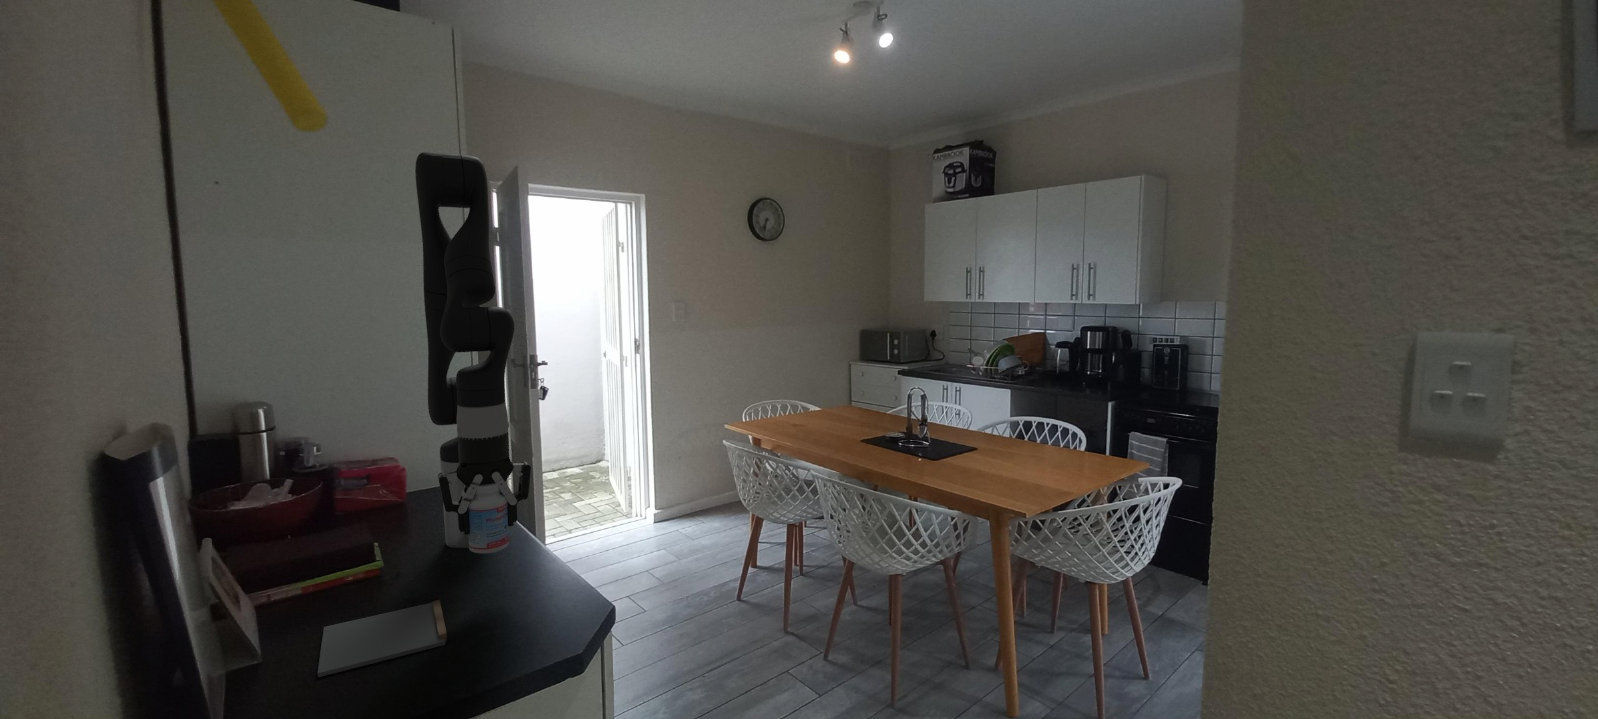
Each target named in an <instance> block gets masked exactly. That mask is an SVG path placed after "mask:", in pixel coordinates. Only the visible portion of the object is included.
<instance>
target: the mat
mask: <svg viewBox="0 0 1598 719" xmlns="http://www.w3.org/2000/svg"><path fill="white" fill-rule="evenodd" d="M320 646H321V647H320V652H319V661H318V667H317V678H322V677H324V676H329V675H333V674H338V673H342V672H345V671H348V670H352V669H356V668H361V667H365V666H368V665H371V664H372V665H373V664H377V663H381V662H384V661H388V660H391V659H395V658H399V657H403V656H408V655H411V654H415V653H419V652H423V651H427V650H430V649H435V648H438V647H443V646H446V641H445V638H442V639H439V636H438V630H437V625H436V620H435V614H434V609H433V602H428V603H424V604H419V605H415V606H410V607H407V608H403V609H398V610H394V611H393V610H392V611H389V612H384V613H380V614H376V615H371V616H367V617H362V618H358V619H353V620H349V621H345V622H339V623H336V624H331V625H327V626H323V633H322V638H321V645H320Z"/></svg>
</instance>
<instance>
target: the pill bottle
mask: <svg viewBox="0 0 1598 719" xmlns="http://www.w3.org/2000/svg"><path fill="white" fill-rule="evenodd" d="M467 512H468V521H469V534H468V541H469V548H468V549H469V551H470V552H472V553H475V554H493V553H497V552H499V551H502V550H503V549H505V548H507V546H508V545H509V544H510V535H509V534H510V532H509V526H508V506H507V499H506V497H505V496H504V495H503V493H502V491H501V490H500V488H499V487H498V484H496V483H492V484H486V485H479V486H478V489H477V491H476V493H475V495H474V497H473V499H472V501H471V502H470V504H469V506H468V508H467Z"/></svg>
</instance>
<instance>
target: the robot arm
mask: <svg viewBox="0 0 1598 719" xmlns="http://www.w3.org/2000/svg"><path fill="white" fill-rule="evenodd" d="M415 186H416V195H417V203H418V212H419V221H420V232H421V239H422V240H421V241H422V265H423V267H422V268H423V272H422V275H423V277H422V278H423V299H424V300H423V302H424V313H425V315H424V316H425V323H426V324H425V325H426V326H425V327H426V335H427V351H428V352H427V356H428V357H427V360H428V361H427V364H428V365H427V407H428V414H429V417H430V420H431V422H432V423H433V424H434V425H435V426H453V425H456V432H457V436H456V437H454V438H452V439H450V440H447V441H445V442H443V443H442V444H441V446H440V447H439V459H440V460H439V461H440V472H439V473H438V474H437V480H438V485H439V489H440V494H441V498H442V499H441V500H442V505H443V506H442V507H443V520H444V537H445V545H446V546H447V547H449V548H455V549H466V548H467V549H469V541H468V534H469V521H468V512H467V508H468V506H469V504H470V502H471V501H472V499H473V497H474V495H475V493H476V491H477V489H478V486H479V485H486V484H492V483H496V484H498V487H499V488H500V490H501V491H500V492H502V493H503V495H504V496H505V497H506V499H507V506H508V528H510V527H514V523H517V521H518V509H517V508H518V503H519V502H520V501H522V500H523V501H524V500H527V499H528V498H529V493H530V482H531V471H532V467H531V465H530V463H529V462H528V461H526V460H524V461H521V462H520V463H519V462H518V463H517V462H516V463H514V462H513V461H511V452H510V437H509V436H510V433H509V429H510V422H509V415H508V409H507V402H506V383H505V381H506V380H505V377H506V367H507V363H508V357H509V352H510V349H511V346H512V343H513V342H512V341H513V338H514V334H515V321H514V317H513V316H512V314H511V313H510V312H509V311H508V310H507V309H506V308H504V307H502V306H486V307H485V306H482V305H484V304H487V303H488V302H491V300H493V298H494V297H495V294H496V286H495V285H496V284H495V279H494V272H493V267H492V261H491V260H492V259H491V253H490V212H489V211H490V208H489V189H488V188H489V186H488V177H487V171H486V168H485V165H484V163H483V161H482V160H481V159H480V158H479V157H477V156H473V155H466V154H457V153H445V152H444V153H443V152H431V151H422V152H420V153H419V154H418V155H417V157H416V161H415ZM440 208H456V209H457V208H459V209H461V208H462V209H469V211H468V215H467V217H466V219H465V221H464V222H463V224H461V226H460V228H459V229H458V231H457V232H456V233H455V234H454V236H453V237H452V238H451V236H450V235H449V233H448V231H447V229H446V227H445V226H444V224H443V221H442V218H441V215H440V210H439V209H440ZM471 352H473V353H474V352H489V355H488V356H487V358H486V359H485V360H483V361H482V362H480V363H479V362H478V363H477V364H472V365H469V366H465V367H463V368H460V369H458V371H457V372H456V376H454V377H448V373H449V369H450V365H451V362H452V361H453V358H454V356H455V355H456V353H471ZM513 471H515V473H516V476H518V477H519V478H518V487H517V489H518V490H517V491H516V492H514V493H513V491H512V490H511V488H510V487H509V485H508V484H507V483H506V481H507V480H508V479H509V477H510V475H511V474H512V473H513Z"/></svg>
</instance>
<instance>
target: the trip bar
mask: <svg viewBox="0 0 1598 719" xmlns="http://www.w3.org/2000/svg"><path fill="white" fill-rule="evenodd" d="M432 603H433V609H434V614H435V620H436V625H437V630H438V636H439V639H442V638H445V642H448V635H447V628H446V625H445V624H446V623H445V619H444V614H443V610H442V604H441V600H440V599H438V600H434V601H432Z"/></svg>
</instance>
